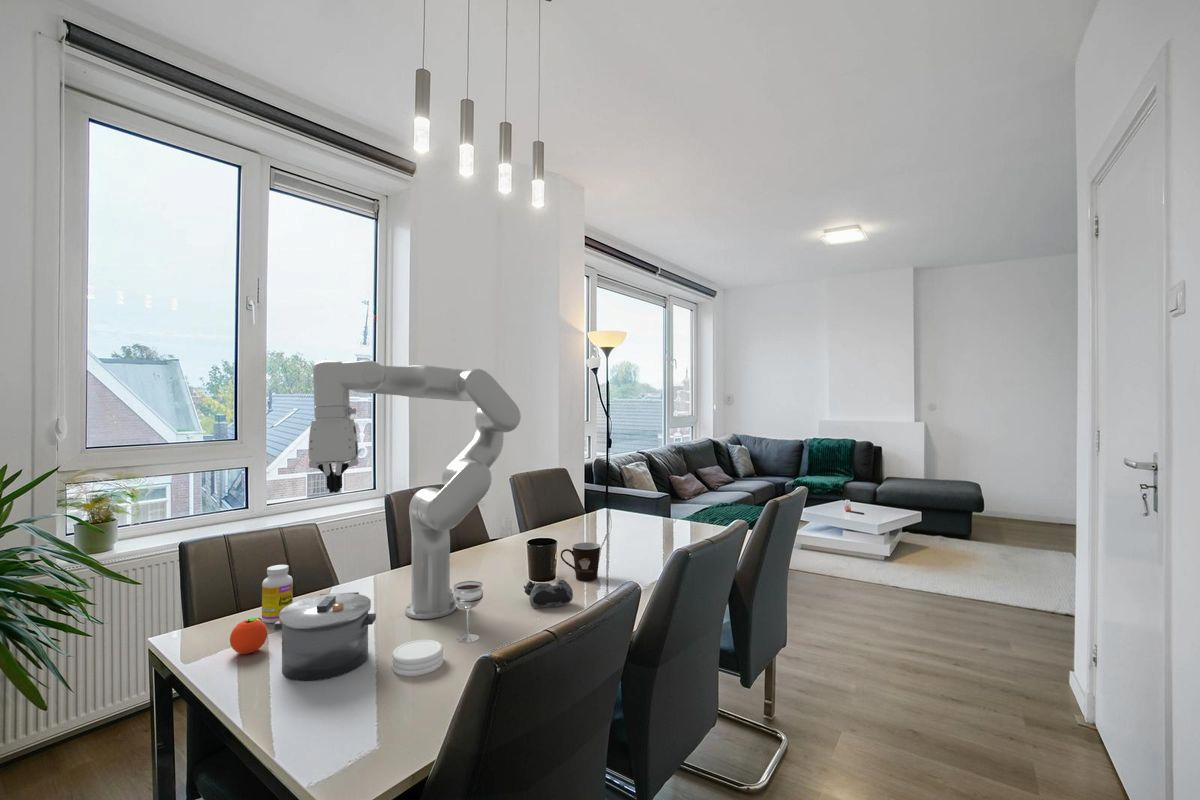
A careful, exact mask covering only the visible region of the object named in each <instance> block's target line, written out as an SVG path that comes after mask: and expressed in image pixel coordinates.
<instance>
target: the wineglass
mask: <svg viewBox="0 0 1200 800" xmlns="http://www.w3.org/2000/svg"><path fill="white" fill-rule="evenodd" d="M483 586H484V584H483V582H481V581H477V580H466V581H465V580H464V581H460V582H457V583H454V584H453V586H452V587H453V590H454V591H452V593H453V600H454V602H455V603H456V606H458V607H459V608H461V609H464V610H465V613H466V634H465V633H464V634H462V635H459V636H458V637H457V638H456V641H457V642H459V643H464V644H466V643H473V642H476V641H478V640H479V638H480V636H479V634H475V633H470V616H471V615H470V614H471V610H473V608H476V607H477V606H478V605H479V604H480V603H481V601H482V600H483V598H484V590H483V588H482V587H483Z"/></svg>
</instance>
